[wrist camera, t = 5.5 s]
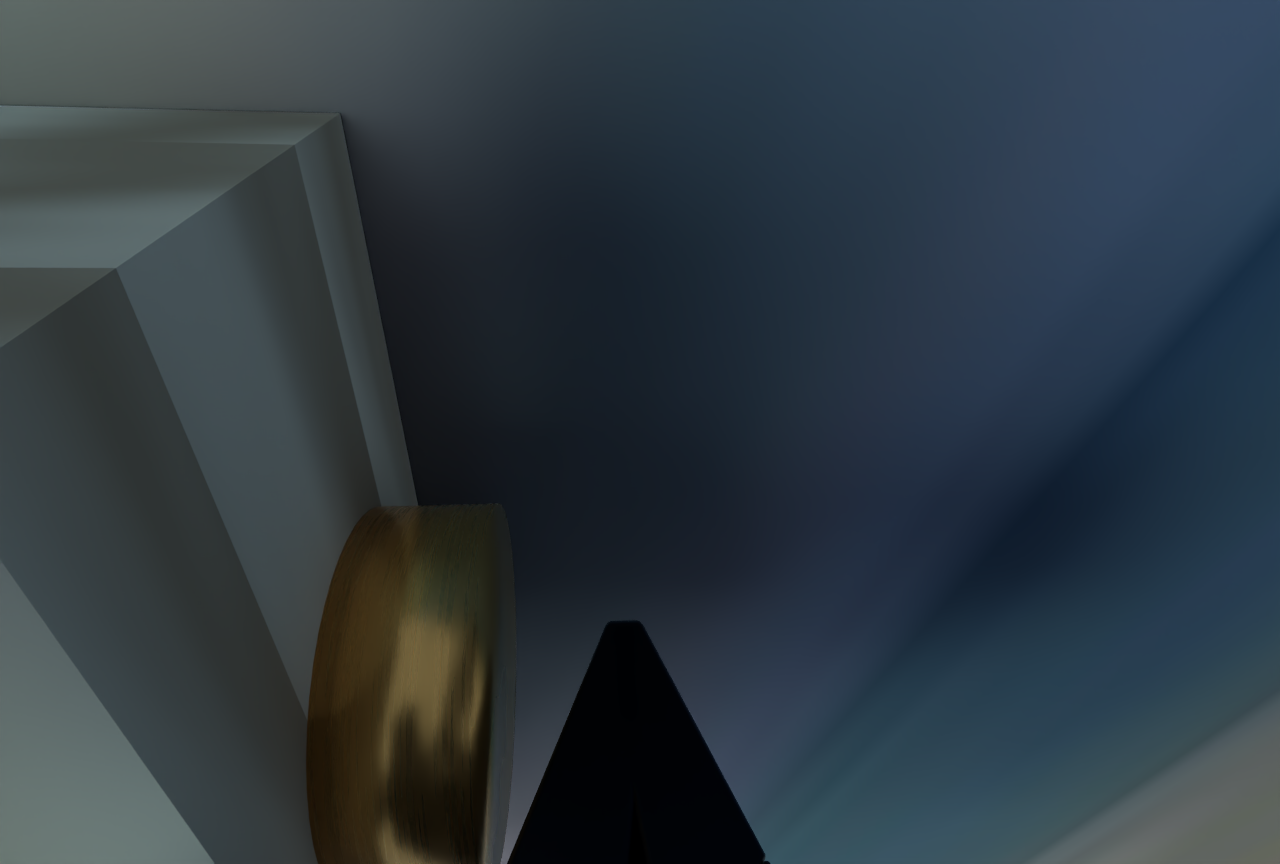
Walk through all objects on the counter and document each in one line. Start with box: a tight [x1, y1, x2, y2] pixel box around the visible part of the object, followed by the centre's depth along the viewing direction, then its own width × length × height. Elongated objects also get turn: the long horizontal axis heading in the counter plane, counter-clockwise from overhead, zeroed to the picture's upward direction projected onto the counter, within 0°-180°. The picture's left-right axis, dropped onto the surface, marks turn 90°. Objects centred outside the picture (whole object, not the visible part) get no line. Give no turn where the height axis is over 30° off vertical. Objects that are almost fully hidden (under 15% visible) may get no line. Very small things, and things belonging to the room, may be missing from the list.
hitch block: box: [0, 105, 418, 864], centre depth 8 cm, size 5×12×6 cm, turn 178°
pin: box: [306, 504, 516, 864], centre depth 8 cm, size 12×4×4 cm, turn 88°
